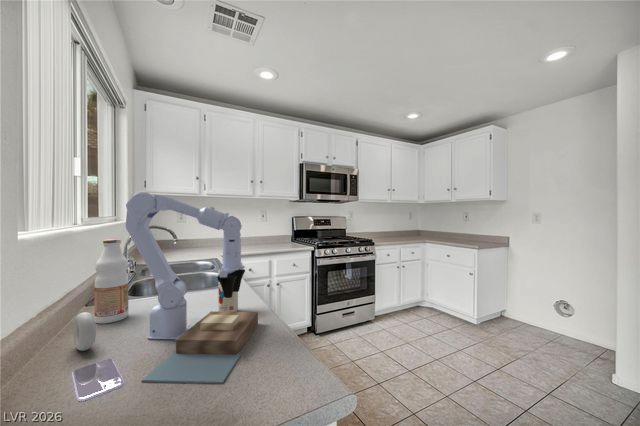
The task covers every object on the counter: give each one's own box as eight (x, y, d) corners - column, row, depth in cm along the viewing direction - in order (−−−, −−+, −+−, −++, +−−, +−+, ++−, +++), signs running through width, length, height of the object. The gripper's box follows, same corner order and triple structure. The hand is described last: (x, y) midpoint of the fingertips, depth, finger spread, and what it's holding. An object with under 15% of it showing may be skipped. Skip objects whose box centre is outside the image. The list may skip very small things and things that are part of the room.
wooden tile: (200, 329, 74) (200, 322, 74) (210, 321, 80) (210, 314, 80) (231, 330, 74) (231, 323, 74) (239, 321, 80) (239, 314, 80)
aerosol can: (216, 311, 99) (216, 258, 99) (234, 307, 103) (233, 256, 103) (222, 317, 93) (221, 261, 94) (240, 312, 98) (240, 259, 98)
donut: (98, 352, 70) (98, 314, 70) (80, 358, 67) (80, 318, 67) (87, 341, 76) (87, 307, 76) (71, 346, 73) (71, 310, 73)
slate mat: (141, 381, 57) (141, 380, 57) (174, 353, 69) (174, 351, 69) (222, 383, 57) (222, 381, 57) (241, 354, 69) (241, 352, 69)
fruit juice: (103, 326, 86) (103, 241, 87) (88, 321, 91) (89, 240, 91) (134, 316, 95) (134, 238, 95) (119, 312, 99) (119, 238, 99)
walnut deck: (175, 355, 68) (175, 339, 68) (210, 323, 88) (210, 311, 88) (236, 356, 68) (236, 340, 68) (257, 323, 88) (257, 311, 88)
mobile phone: (112, 356, 67) (125, 381, 56) (112, 360, 67) (125, 386, 56) (70, 369, 61) (77, 400, 51) (70, 373, 61) (77, 405, 51)
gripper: (235, 256, 79) (236, 301, 79) (250, 249, 93) (250, 288, 93) (212, 256, 79) (212, 301, 79) (231, 249, 93) (231, 288, 93)
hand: (232, 294), depth 86 cm, fingers open, 6 cm apart
